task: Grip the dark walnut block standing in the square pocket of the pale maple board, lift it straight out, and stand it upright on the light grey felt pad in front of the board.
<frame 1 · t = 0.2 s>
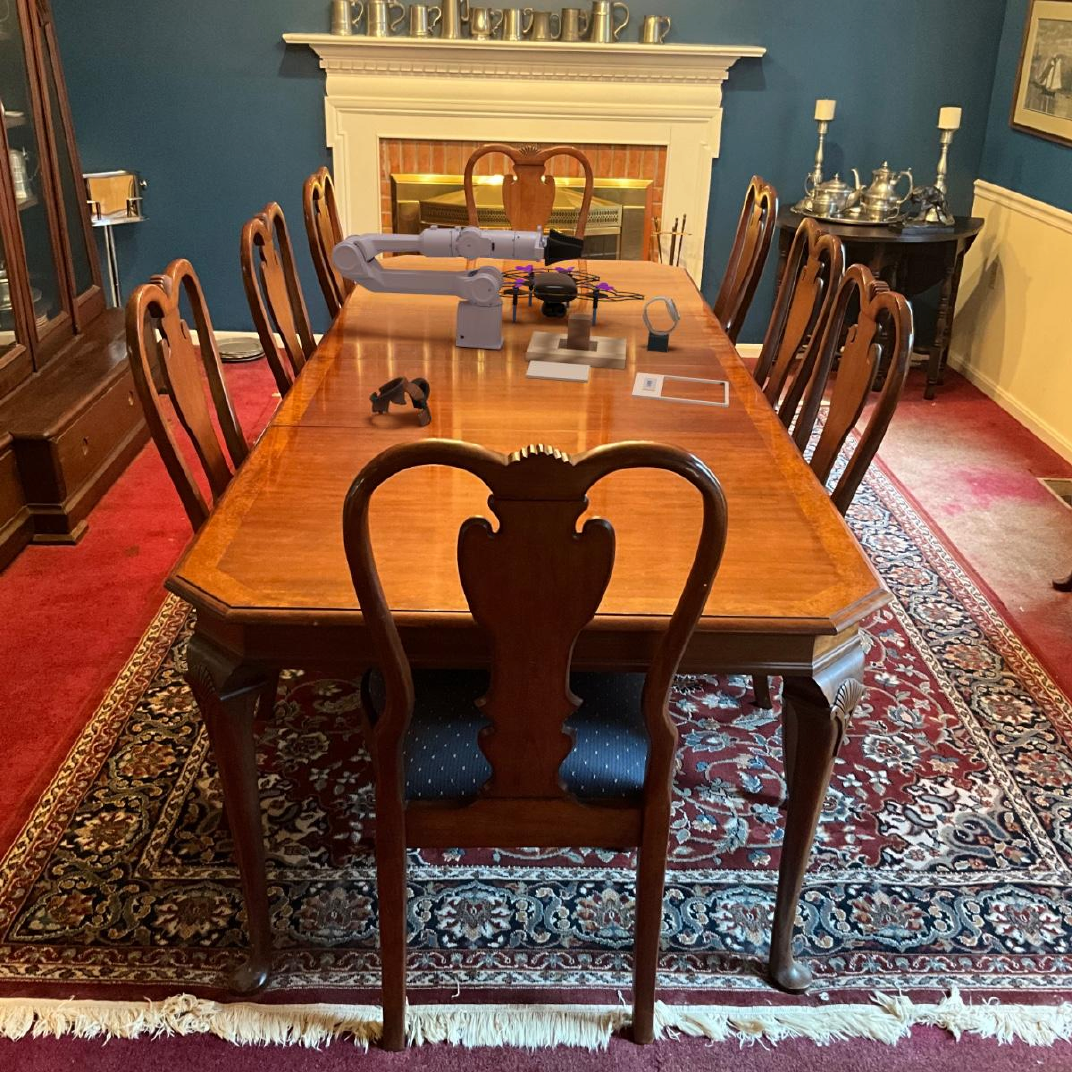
hand: (582, 248, 215), 21 cm above the table, tool horizontal, fingers open, 7 cm apart
felt pad: (558, 372, 210), on the table
drone: (550, 315, 252), on the table
dark brown curved piece: (405, 419, 182), on the table
block: (578, 335, 221), in the pocket board
watch: (657, 348, 231), on the table
pocket board: (577, 354, 222), on the table
photo frame: (680, 393, 204), on the table
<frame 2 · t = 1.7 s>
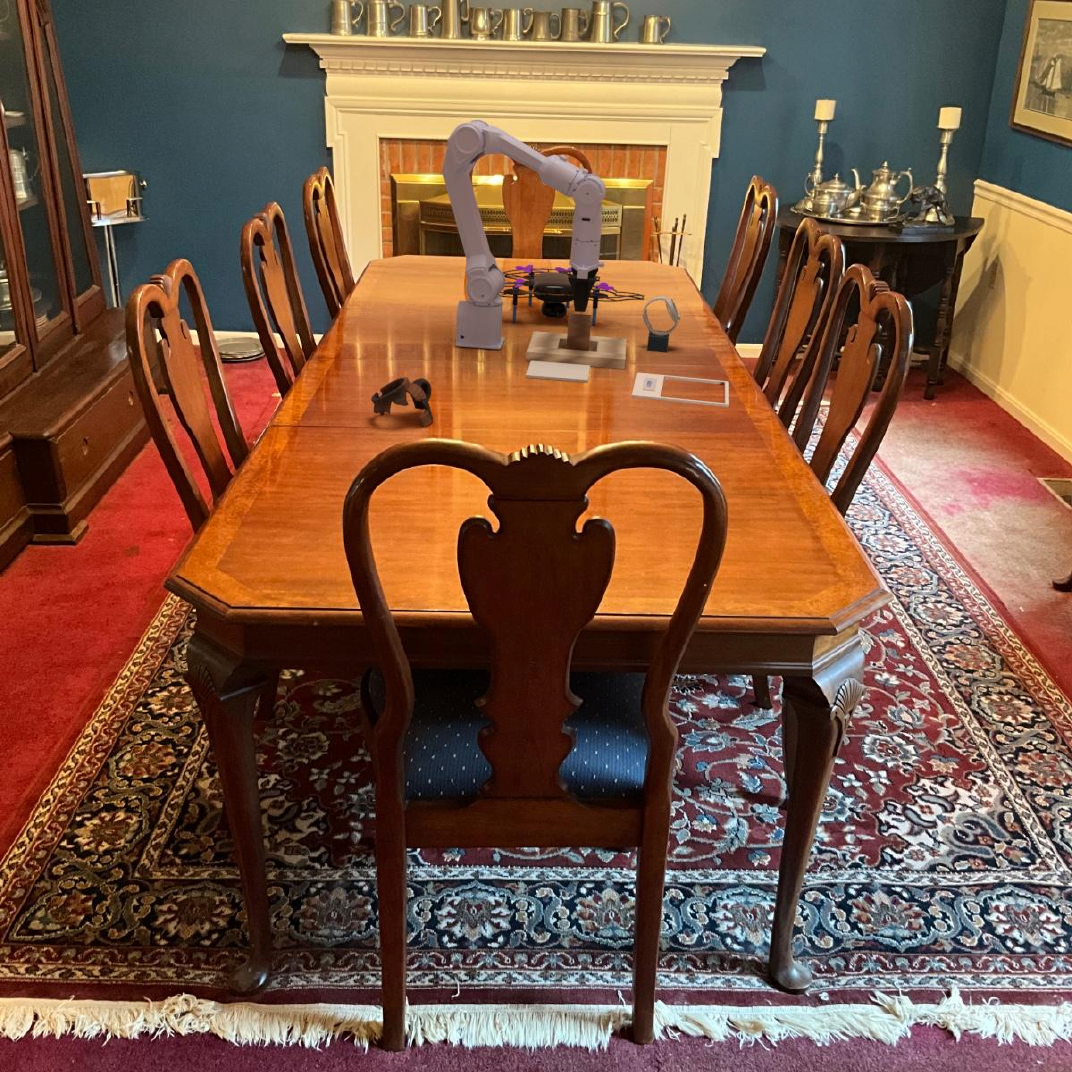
hand: (581, 306, 218), 10 cm above the table, tool pointing down, fingers open, 7 cm apart
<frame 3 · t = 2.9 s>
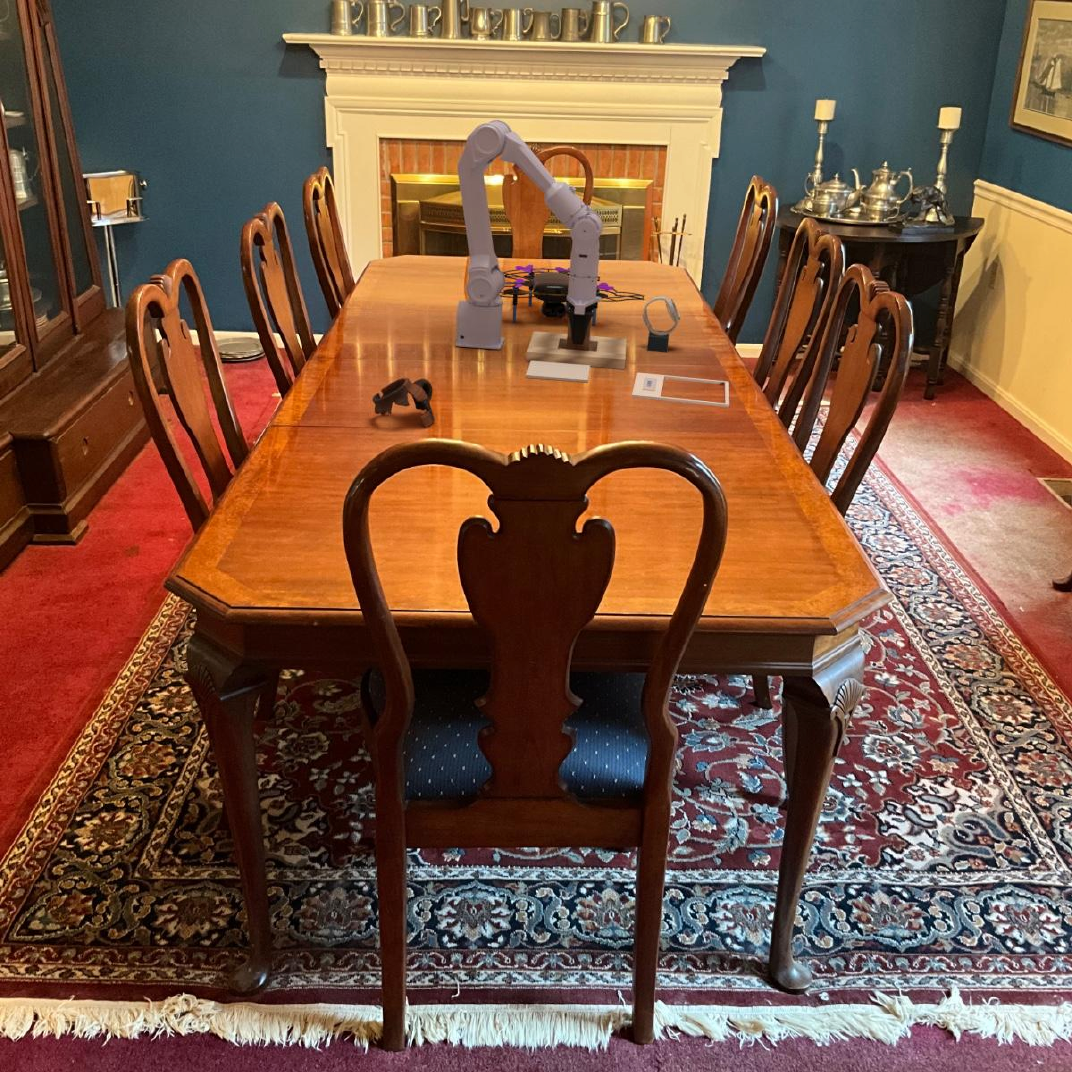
hand: (578, 340, 221), 3 cm above the table, tool pointing down, fingers closed on block, 4 cm apart
block: (578, 335, 221), in the pocket board, touching gripper
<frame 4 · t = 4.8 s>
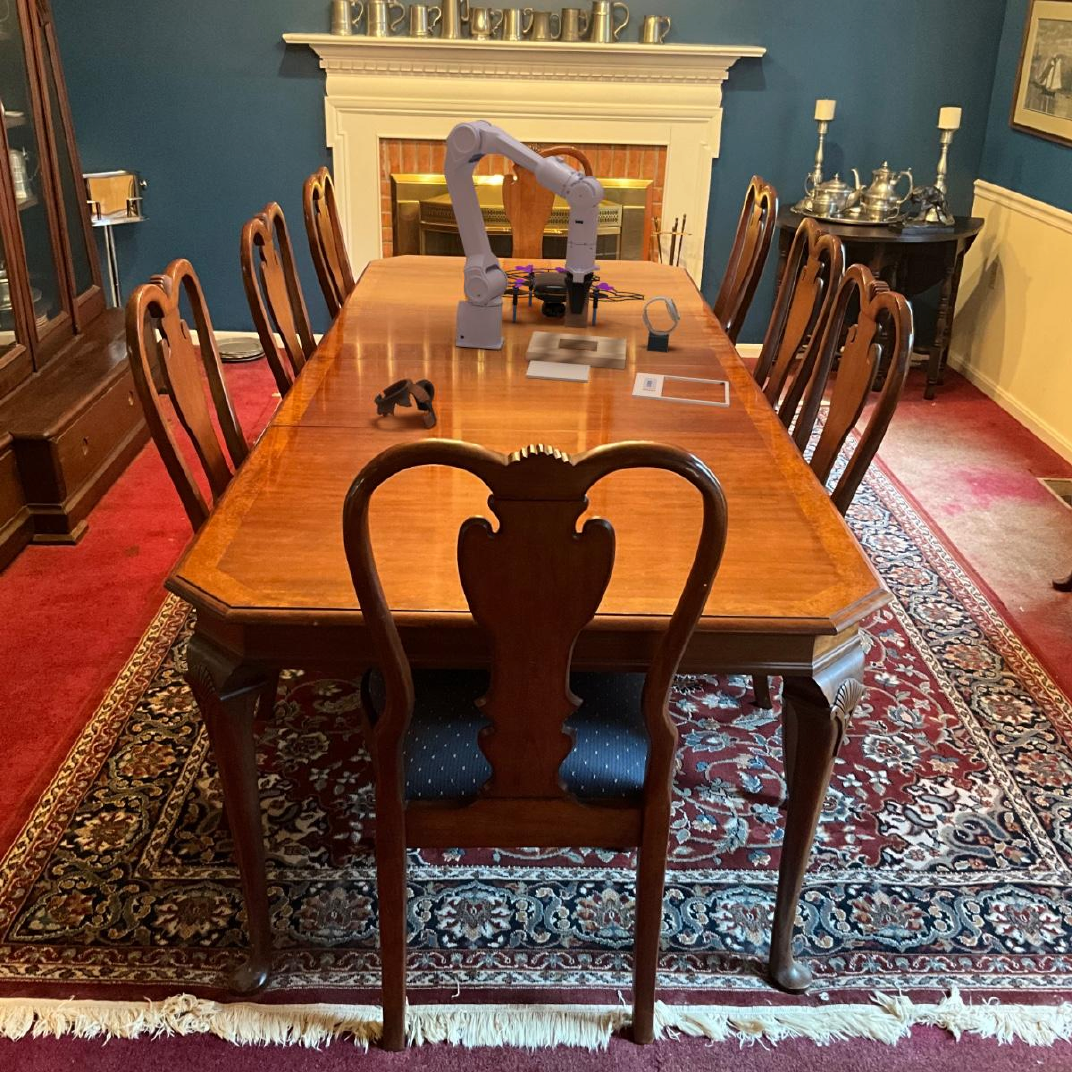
hand: (576, 310, 215), 10 cm above the table, tool pointing down, fingers closed on block, 4 cm apart
block: (577, 305, 215), point 11 cm above the table, touching gripper
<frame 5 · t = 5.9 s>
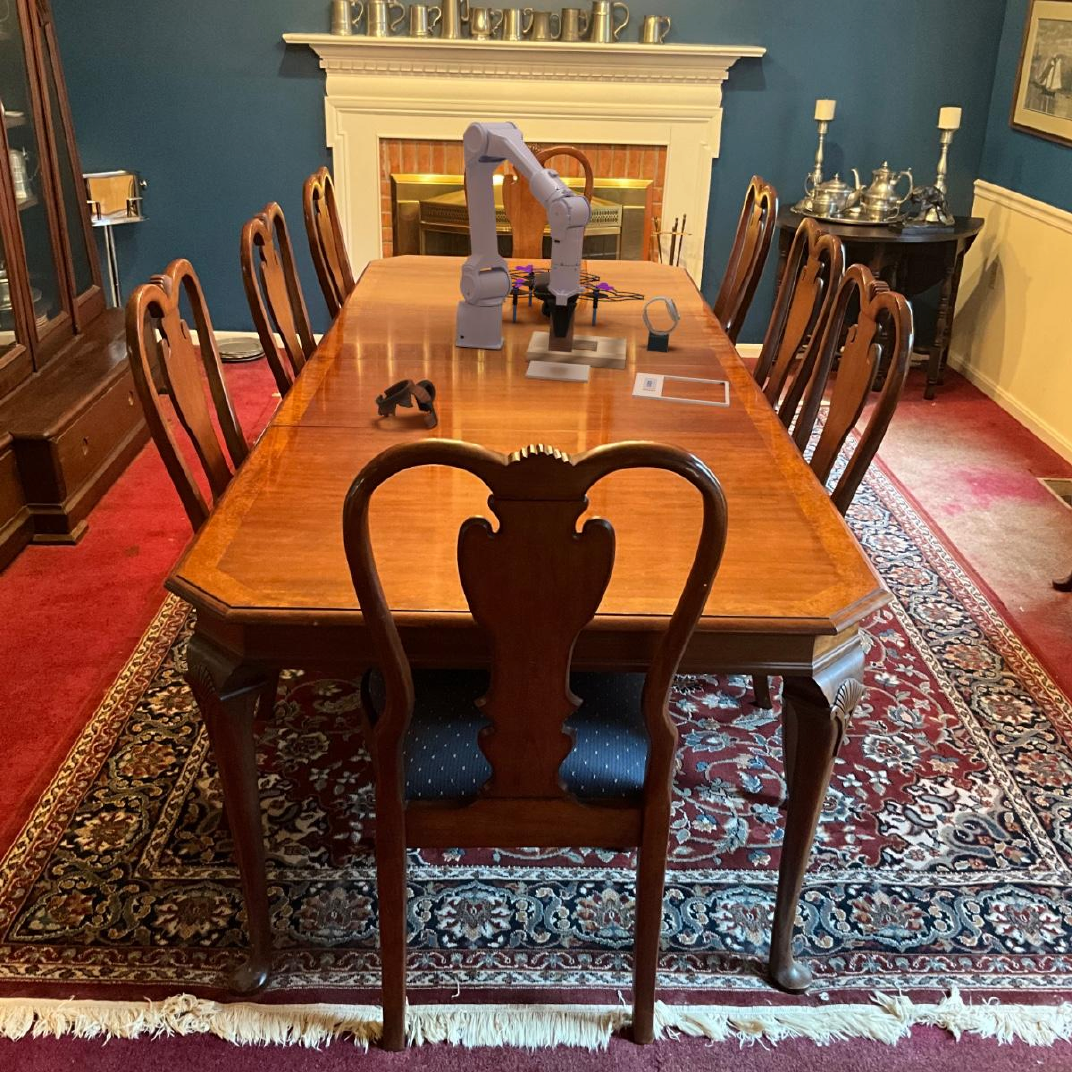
hand: (561, 333, 207), 8 cm above the table, tool pointing down, fingers closed on block, 4 cm apart
block: (562, 328, 206), point 9 cm above the table, touching gripper
when the fingers open (5 cm above the table, at t = 6.8 s): block drops 1 cm, resting on felt pad.
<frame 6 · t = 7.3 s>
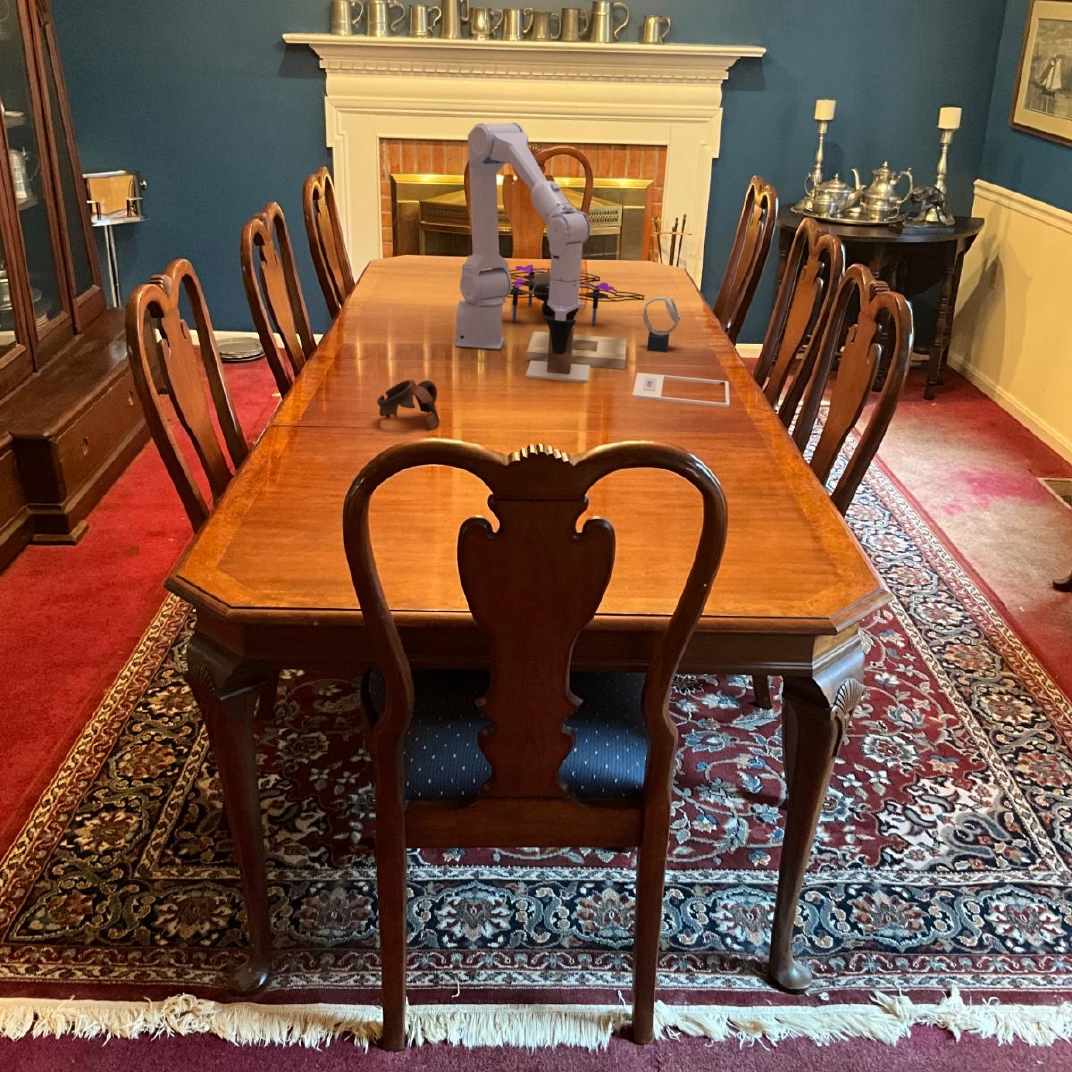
hand: (560, 348, 208), 5 cm above the table, tool pointing down, fingers open, 7 cm apart
block: (560, 350, 208), on the felt pad
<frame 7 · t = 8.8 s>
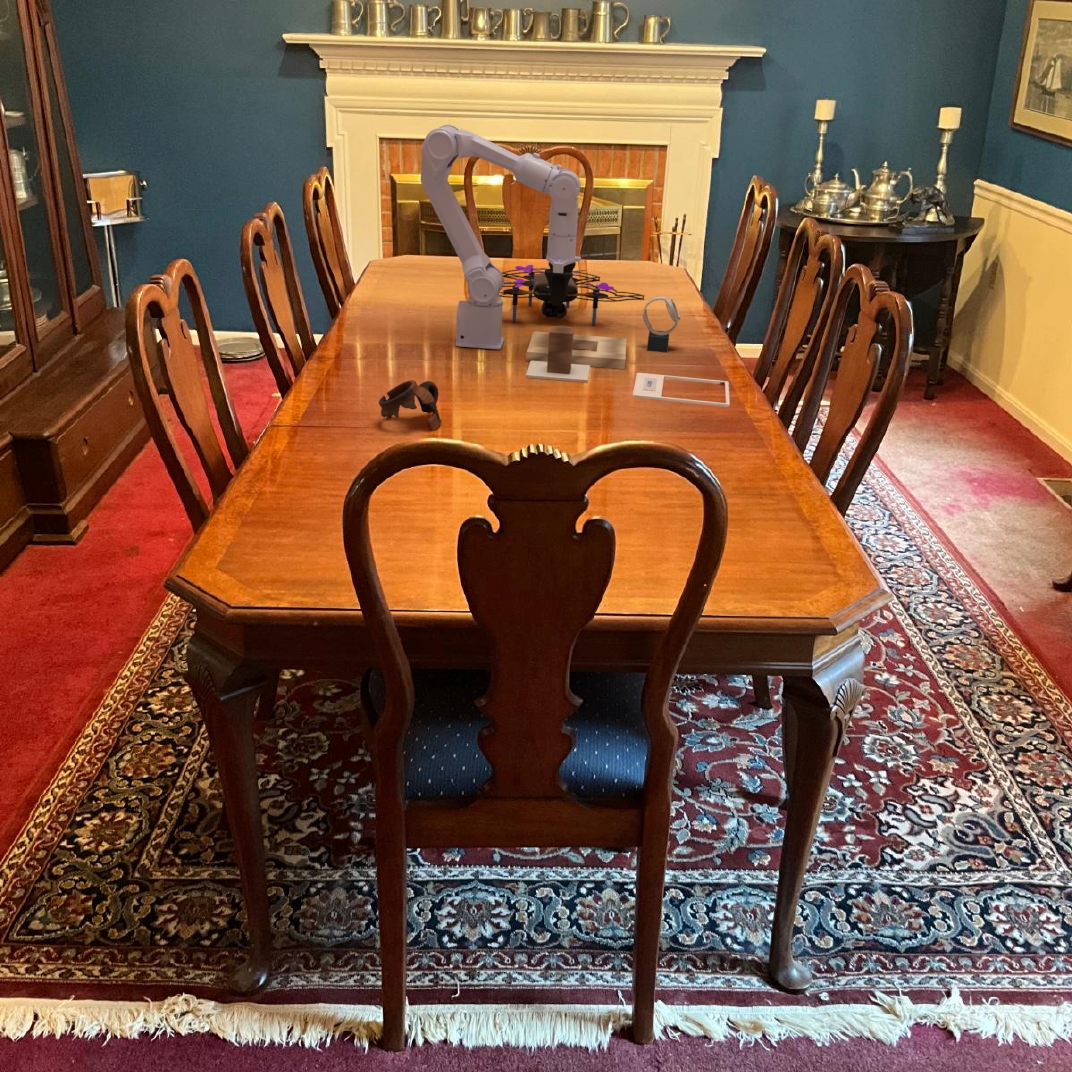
hand: (558, 301, 220), 10 cm above the table, tool pointing down, fingers open, 7 cm apart
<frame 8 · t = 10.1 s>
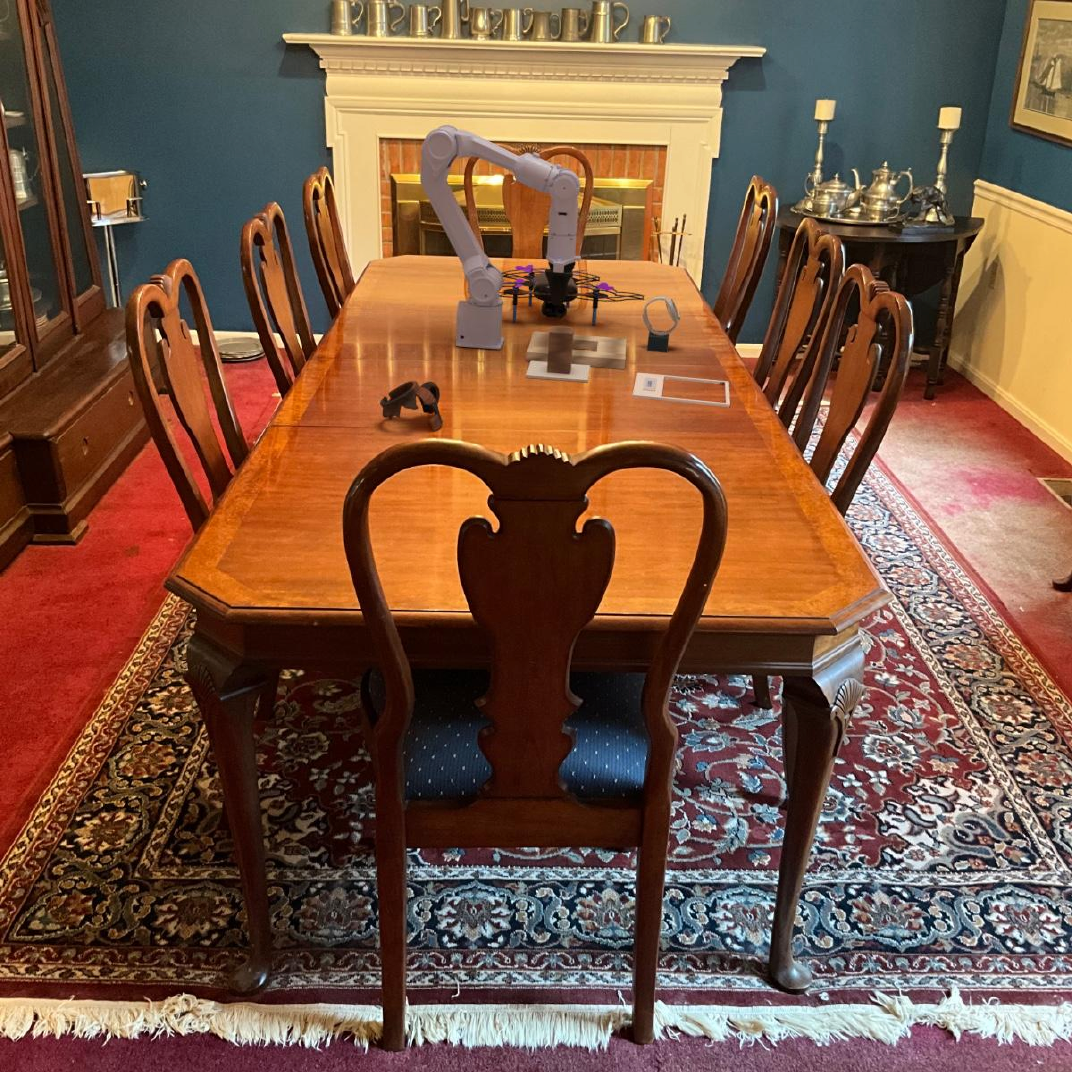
hand: (558, 300, 220), 10 cm above the table, tool pointing down, fingers open, 7 cm apart
at the end: block inside the target area on the felt pad (0.1 cm from its centre), point 4.5 cm above the felt pad's base; block tilted 0°; the gripper is holding nothing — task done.
